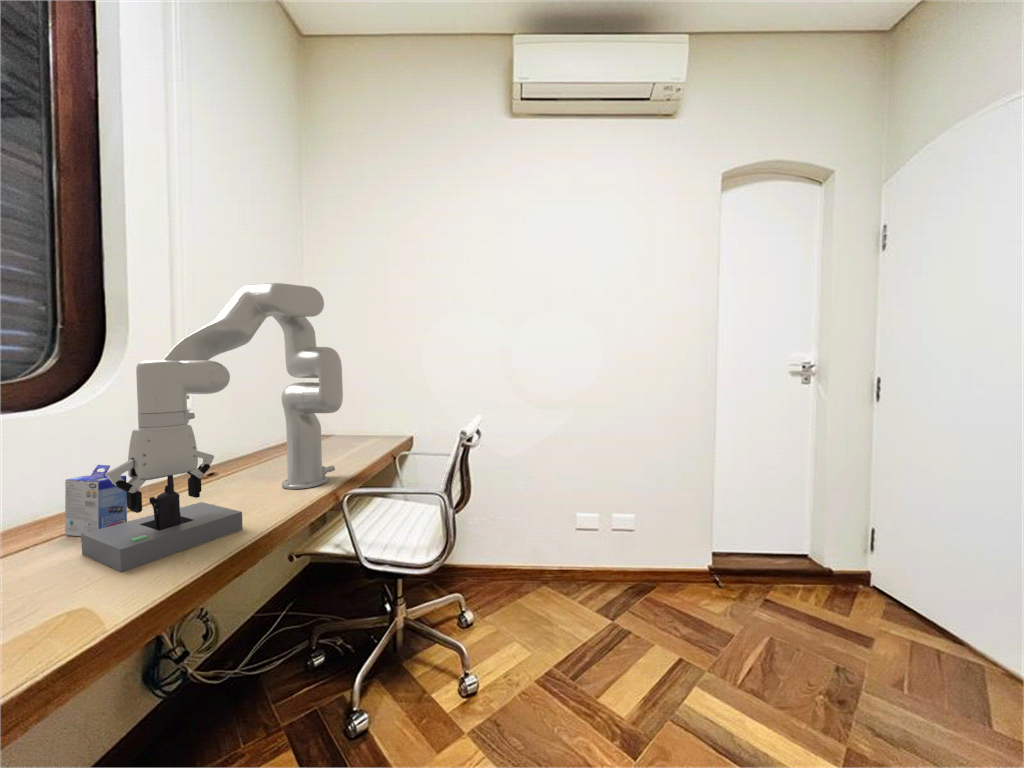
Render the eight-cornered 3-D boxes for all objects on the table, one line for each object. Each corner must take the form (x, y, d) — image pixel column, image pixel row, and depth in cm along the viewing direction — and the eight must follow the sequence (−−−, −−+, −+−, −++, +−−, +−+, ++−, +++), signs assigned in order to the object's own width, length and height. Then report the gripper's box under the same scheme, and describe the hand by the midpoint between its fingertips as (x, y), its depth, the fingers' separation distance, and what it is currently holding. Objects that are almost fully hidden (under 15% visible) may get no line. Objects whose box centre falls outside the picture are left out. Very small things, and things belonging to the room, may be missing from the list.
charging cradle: (202, 518, 92) (201, 500, 92) (242, 529, 85) (242, 510, 85) (81, 554, 74) (81, 532, 74) (121, 572, 67) (120, 547, 67)
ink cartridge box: (130, 529, 87) (127, 464, 86) (99, 539, 81) (96, 470, 81) (96, 525, 89) (93, 463, 88) (64, 536, 83) (61, 468, 83)
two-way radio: (183, 541, 80) (180, 469, 79) (154, 549, 76) (151, 473, 76) (176, 534, 83) (174, 465, 83) (148, 542, 80) (145, 469, 79)
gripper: (202, 415, 89) (204, 489, 89) (96, 425, 73) (100, 515, 73) (221, 417, 85) (223, 493, 86) (114, 427, 70) (118, 521, 70)
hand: (166, 503), depth 80 cm, fingers open, 9 cm apart
